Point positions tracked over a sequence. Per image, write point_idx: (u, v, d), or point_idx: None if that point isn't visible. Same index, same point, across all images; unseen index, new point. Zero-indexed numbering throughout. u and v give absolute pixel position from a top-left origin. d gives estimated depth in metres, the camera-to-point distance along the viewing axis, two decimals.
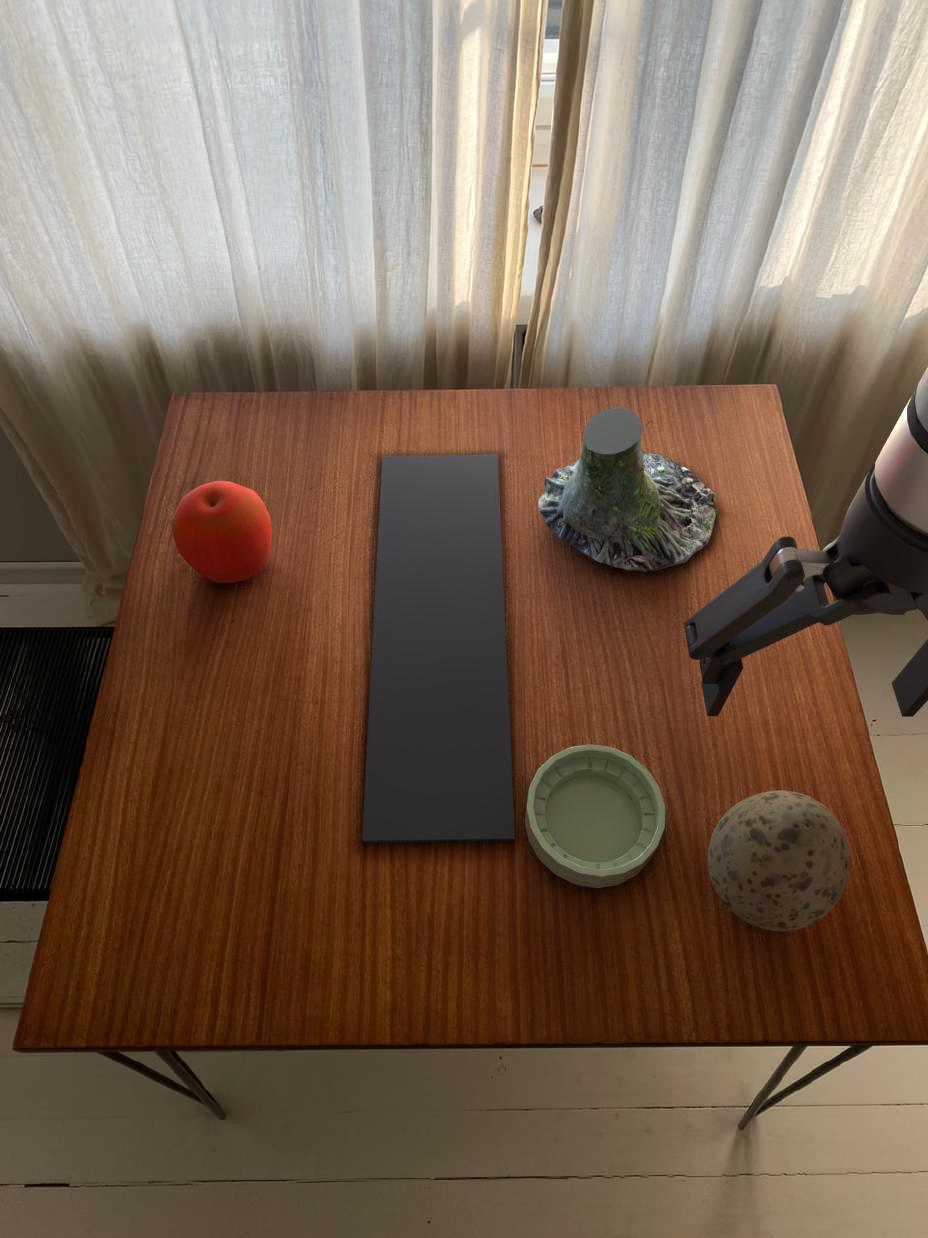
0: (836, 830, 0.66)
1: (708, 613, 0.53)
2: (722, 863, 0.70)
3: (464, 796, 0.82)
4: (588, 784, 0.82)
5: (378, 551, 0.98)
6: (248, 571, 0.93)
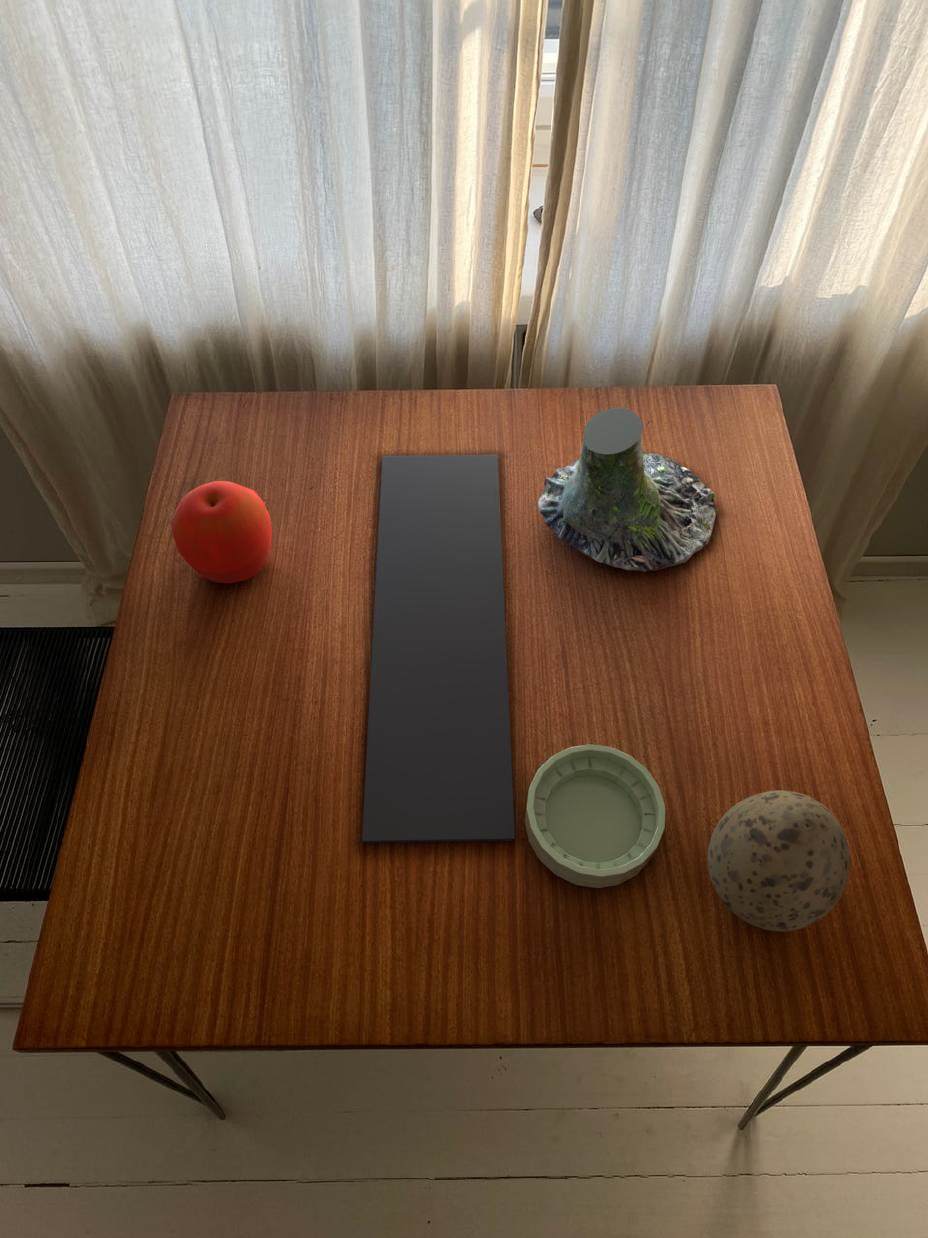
0: (836, 830, 0.66)
1: None
2: (722, 863, 0.70)
3: (464, 796, 0.82)
4: (588, 784, 0.82)
5: (378, 551, 0.98)
6: (248, 571, 0.93)
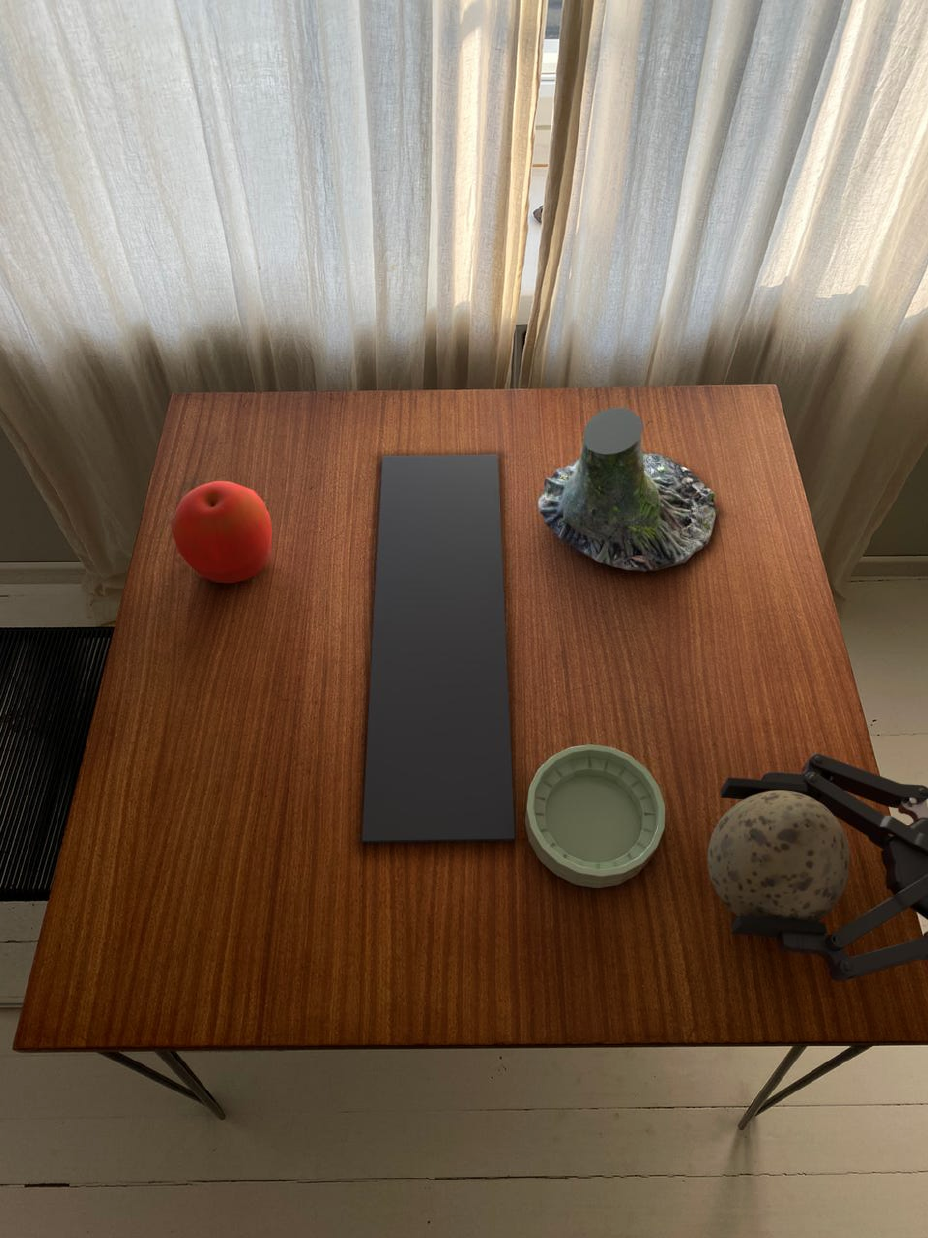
0: (836, 830, 0.66)
1: None
2: (722, 863, 0.70)
3: (464, 796, 0.82)
4: (588, 784, 0.82)
5: (378, 551, 0.98)
6: (248, 571, 0.93)
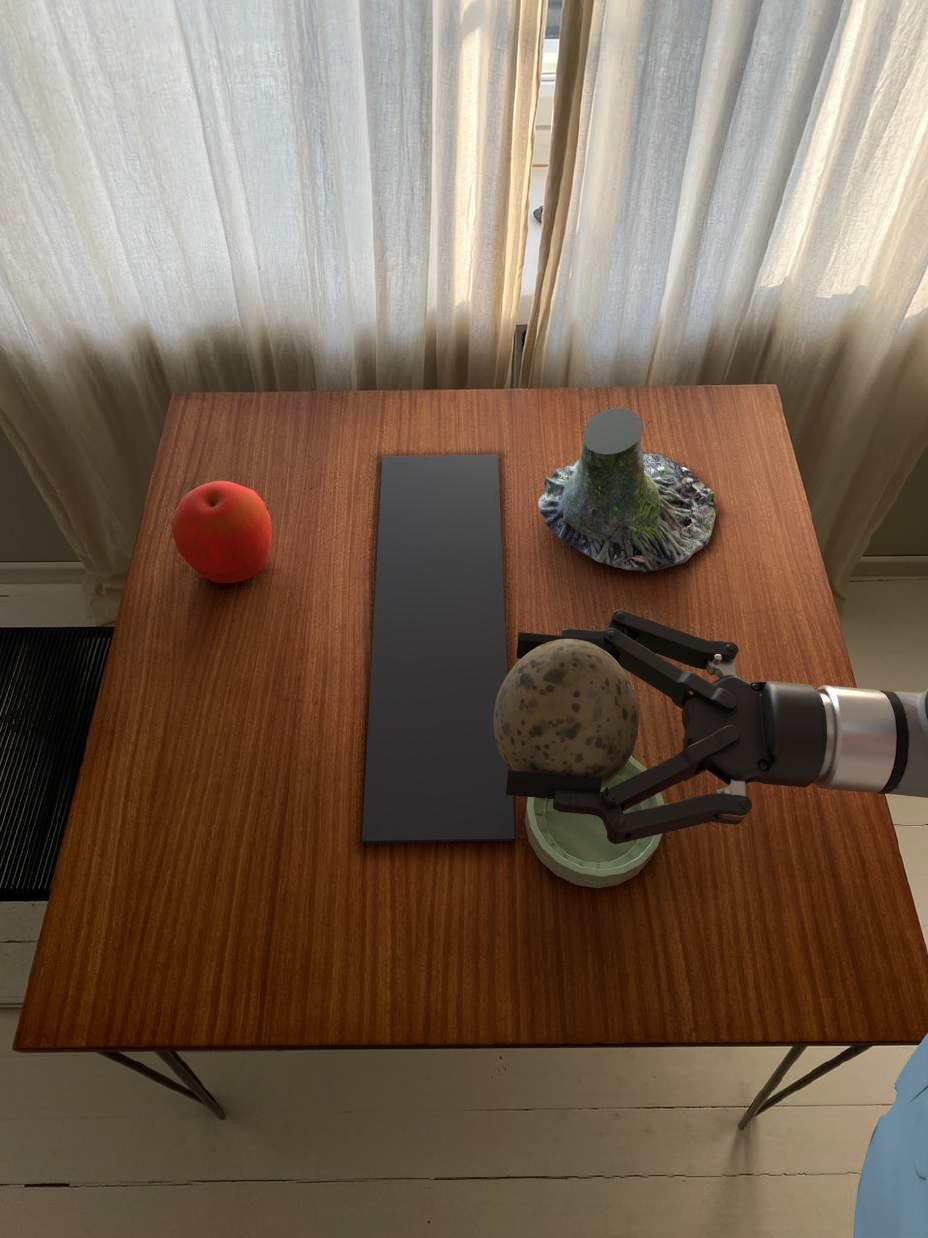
0: (611, 673, 0.60)
1: None
2: (498, 717, 0.63)
3: (464, 796, 0.82)
4: None
5: (378, 551, 0.98)
6: (248, 571, 0.93)
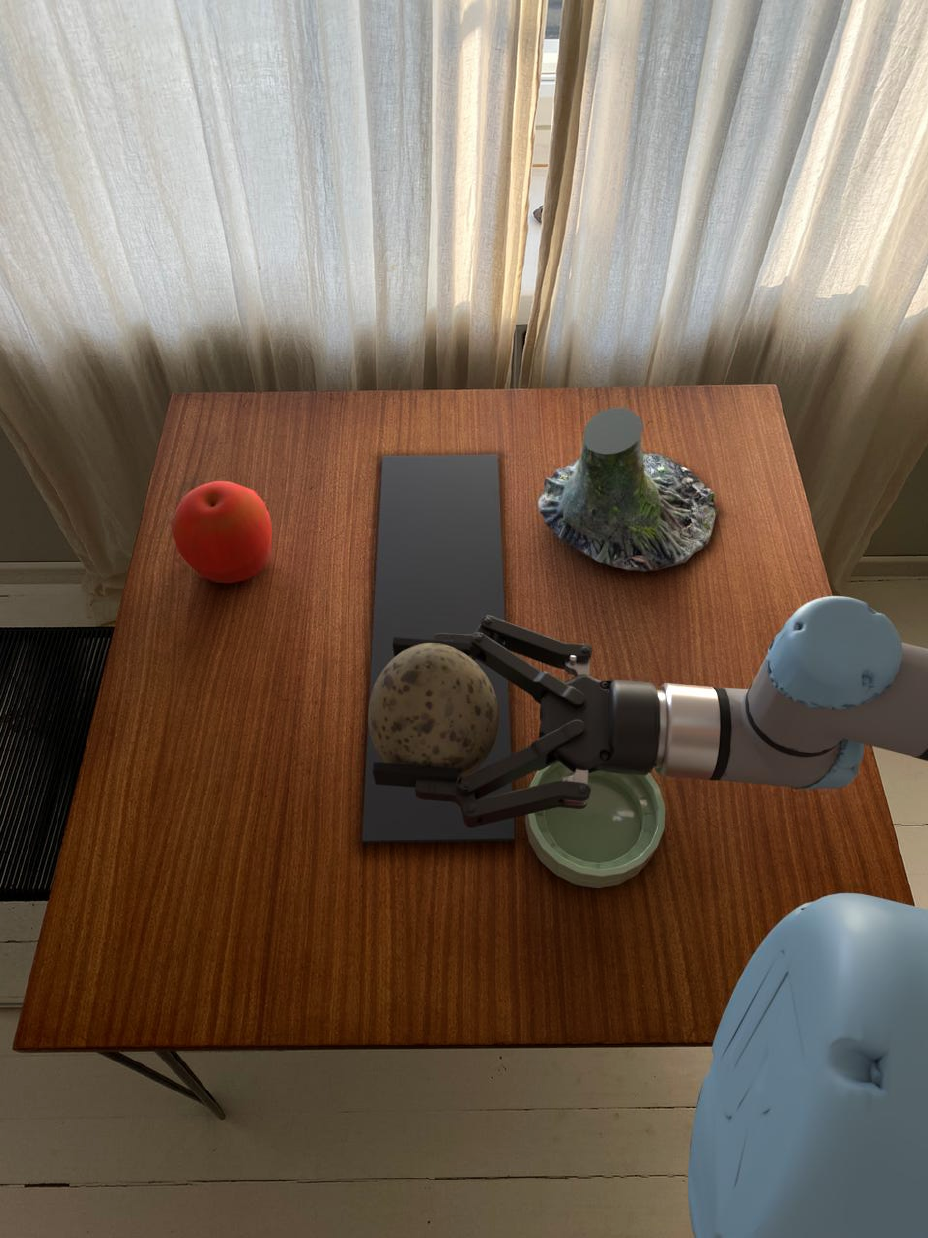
0: (464, 674, 0.66)
1: None
2: (369, 715, 0.70)
3: None
4: (588, 784, 0.82)
5: (378, 551, 0.98)
6: (248, 571, 0.93)
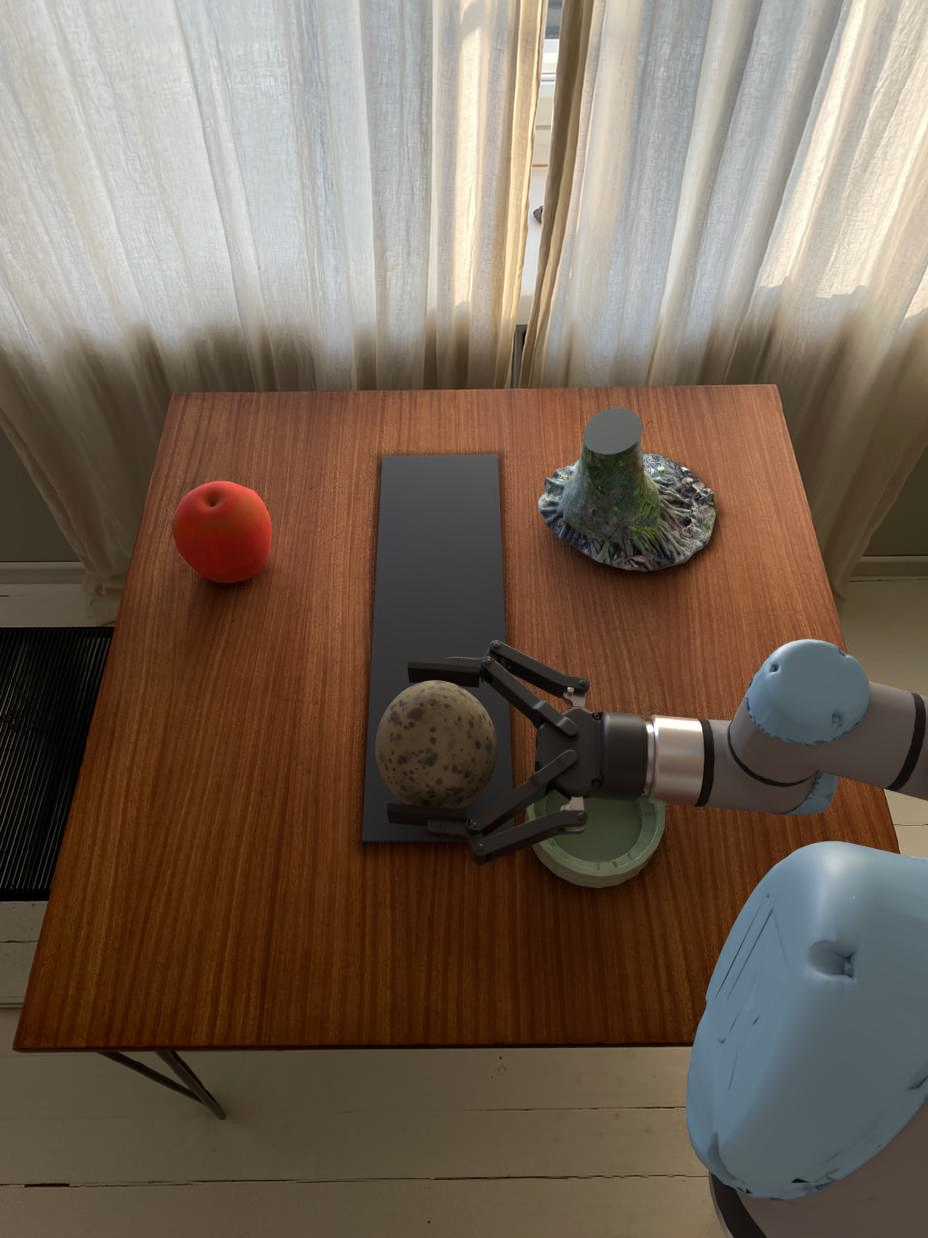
0: (465, 711, 0.71)
1: None
2: (376, 747, 0.75)
3: None
4: None
5: (378, 551, 0.98)
6: (248, 571, 0.93)
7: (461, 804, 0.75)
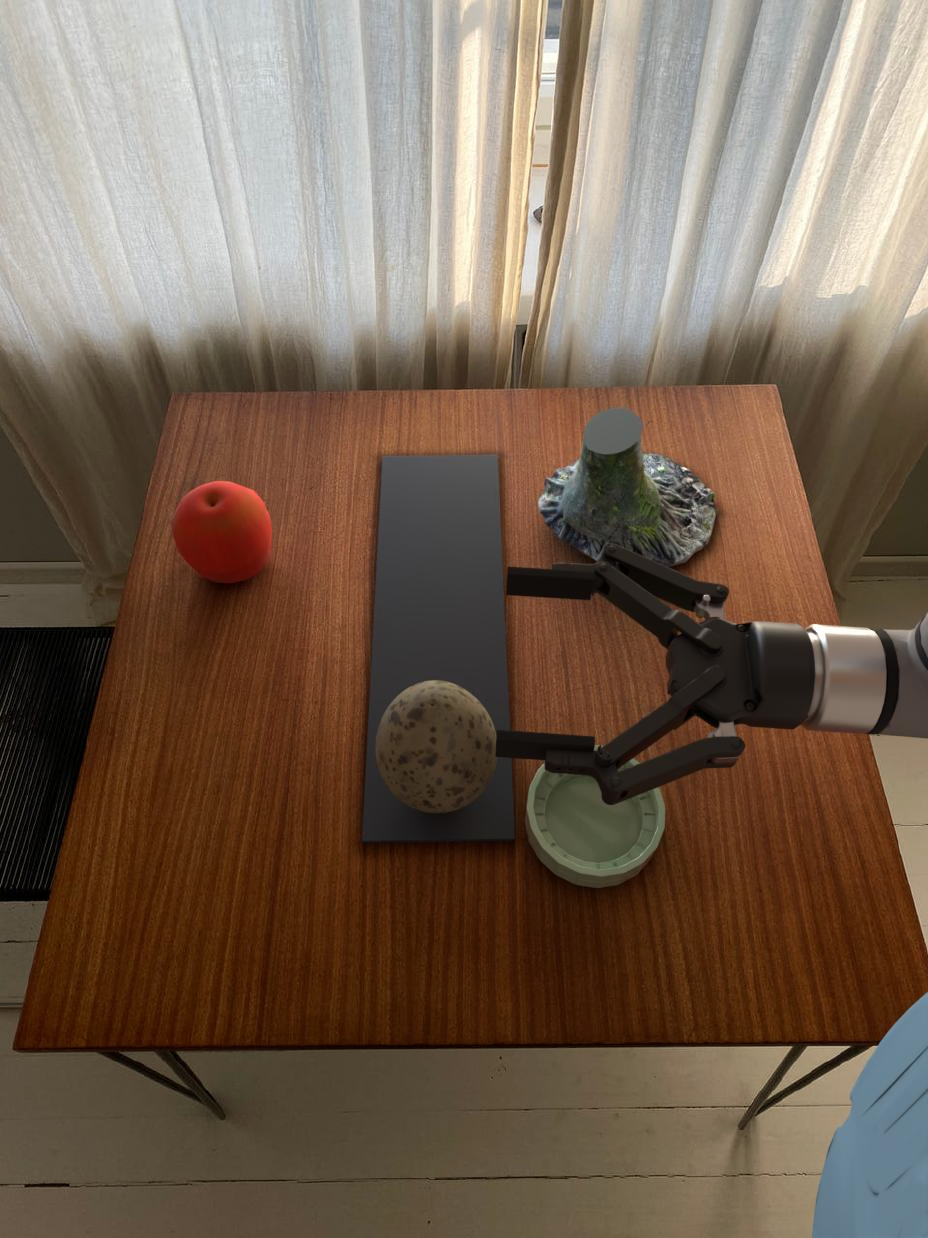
0: (465, 711, 0.71)
1: None
2: (377, 747, 0.75)
3: None
4: (588, 784, 0.82)
5: (378, 551, 0.98)
6: (248, 571, 0.93)
7: (461, 804, 0.75)
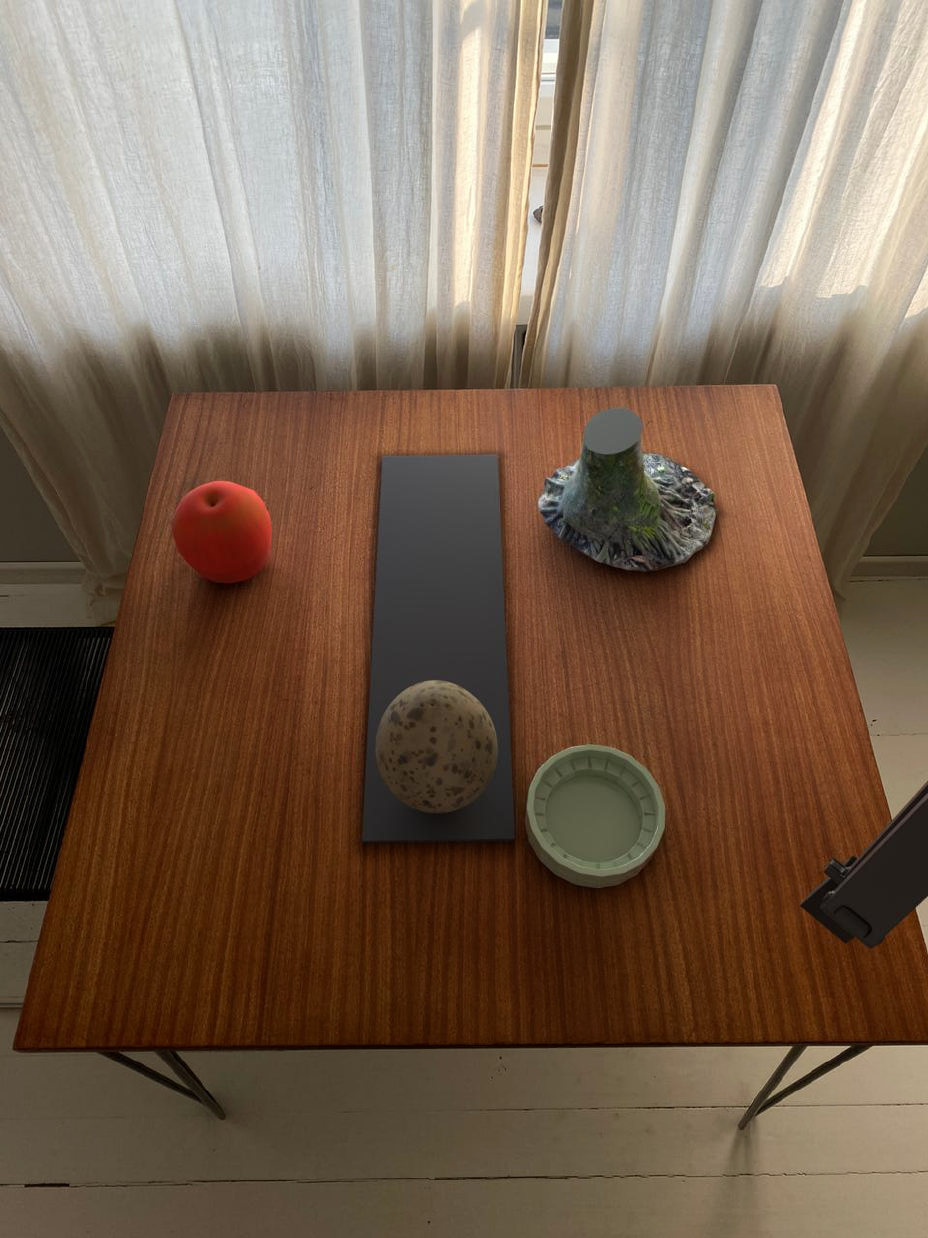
0: (465, 711, 0.71)
1: (865, 889, 0.36)
2: (377, 747, 0.75)
3: None
4: (588, 784, 0.82)
5: (378, 551, 0.98)
6: (248, 571, 0.93)
7: (461, 804, 0.75)
